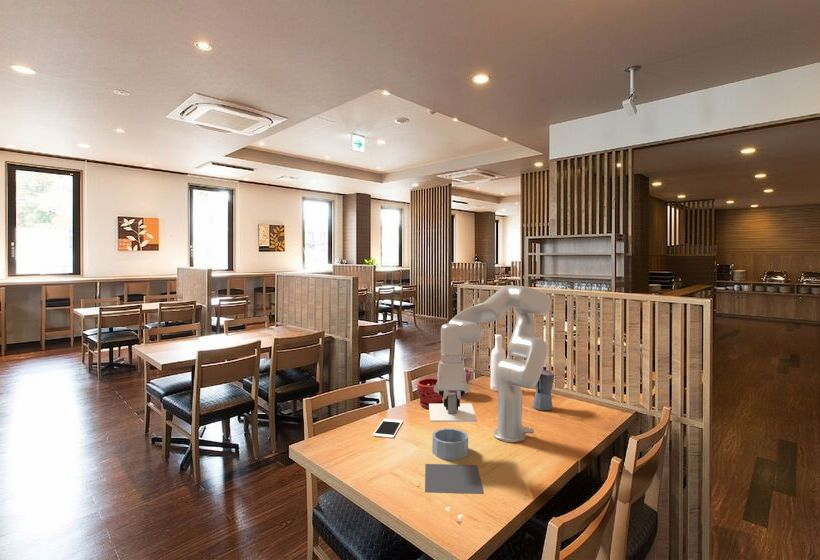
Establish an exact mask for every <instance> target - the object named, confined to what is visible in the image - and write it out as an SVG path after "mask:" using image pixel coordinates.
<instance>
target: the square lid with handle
mask: <svg viewBox="0 0 820 560" xmlns="http://www.w3.org/2000/svg"><path fill="white" fill-rule="evenodd" d="M447 398H448V410H446V407H444V403H443V404H429V408H428V410H429V422H430V423H477V422H478V419H477V416H476V413H475V409H474V407H473V404H472V403H467V402H466V403H464V402H463V403H461V402H460V407H458V410H457V397H456V393H448V392H447Z"/></svg>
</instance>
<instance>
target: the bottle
mask: <svg viewBox="0 0 820 560" xmlns="http://www.w3.org/2000/svg"><path fill="white" fill-rule="evenodd" d="M494 339H495V340H494V342H495V343H494V348H493V349H492V350H491V353H490V386H489V387H490V390H491V391H493V392H498V381H497V375H496V367H497V364H498V363H499V362H500V361H501V360H503V359H506V358H507V357H506V351H505V349H504V348H503V335H502V334H495V336H494Z"/></svg>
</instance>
